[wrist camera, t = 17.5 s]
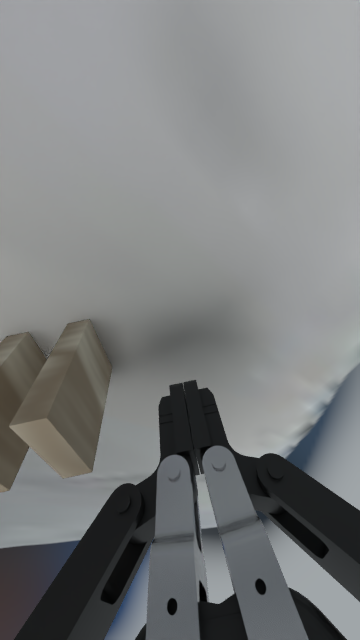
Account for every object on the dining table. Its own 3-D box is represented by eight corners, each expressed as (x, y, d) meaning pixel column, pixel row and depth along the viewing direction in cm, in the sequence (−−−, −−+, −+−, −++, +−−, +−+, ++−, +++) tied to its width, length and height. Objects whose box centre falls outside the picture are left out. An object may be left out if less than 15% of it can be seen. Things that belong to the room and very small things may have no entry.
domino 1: (41, 383, 18) (-21, 496, 12) (6, 336, 16) (-100, 449, 9) (60, 379, 18) (9, 490, 12) (28, 331, 16) (-61, 440, 9)
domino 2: (93, 371, 19) (62, 478, 12) (67, 323, 16) (8, 426, 9) (112, 367, 19) (92, 472, 12) (89, 319, 16) (46, 418, 9)
